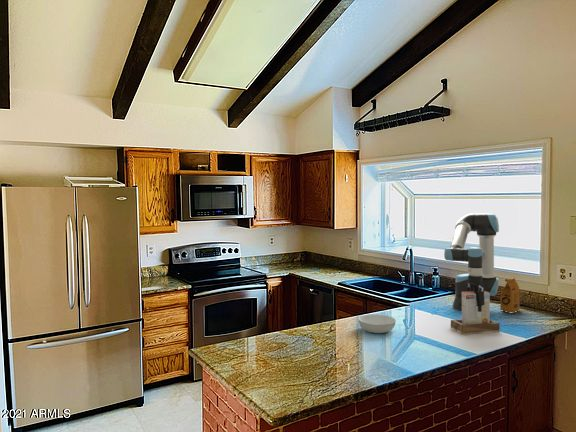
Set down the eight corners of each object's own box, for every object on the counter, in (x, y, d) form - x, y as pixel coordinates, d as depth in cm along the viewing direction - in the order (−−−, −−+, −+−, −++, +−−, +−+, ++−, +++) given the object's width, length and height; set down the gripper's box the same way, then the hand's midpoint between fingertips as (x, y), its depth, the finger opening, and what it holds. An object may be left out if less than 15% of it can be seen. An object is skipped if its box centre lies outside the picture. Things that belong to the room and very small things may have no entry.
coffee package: (497, 311, 297) (497, 278, 296) (507, 308, 304) (507, 276, 303) (512, 314, 289) (512, 280, 288) (522, 311, 296) (522, 278, 295)
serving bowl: (353, 333, 251) (353, 321, 251) (364, 324, 269) (364, 312, 269) (390, 338, 241) (390, 326, 241) (399, 328, 260) (399, 316, 260)
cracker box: (484, 326, 259) (484, 290, 258) (490, 329, 253) (490, 292, 252) (460, 327, 257) (461, 291, 256) (466, 330, 251) (466, 293, 250)
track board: (450, 328, 259) (450, 319, 259) (484, 325, 264) (484, 317, 263) (464, 335, 246) (464, 325, 246) (499, 332, 251) (499, 323, 251)
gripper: (459, 272, 262) (458, 311, 263) (479, 278, 244) (479, 320, 244) (470, 271, 264) (470, 311, 265) (492, 277, 245) (491, 319, 246)
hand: (474, 315), depth 255 cm, fingers closed on cracker box, 6 cm apart
